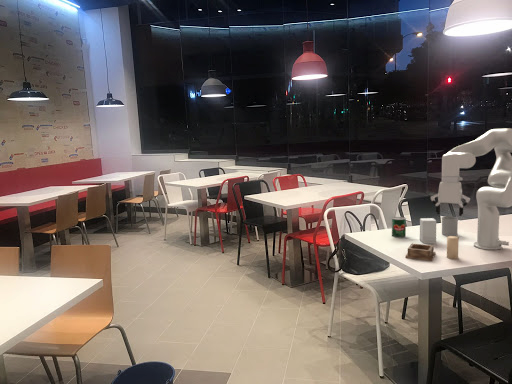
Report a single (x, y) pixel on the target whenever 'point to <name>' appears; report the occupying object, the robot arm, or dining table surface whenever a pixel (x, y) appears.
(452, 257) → the tan rectangular block
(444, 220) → the cup
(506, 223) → the dining table surface
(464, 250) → the dining table surface
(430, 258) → the brown wooden box
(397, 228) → the canned tomato
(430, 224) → the supplement box
